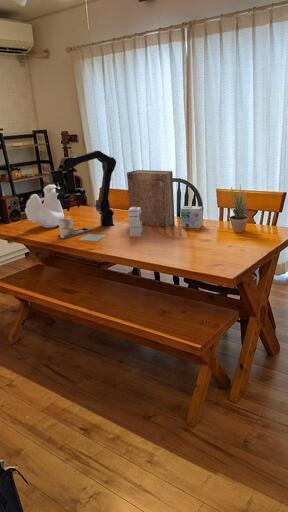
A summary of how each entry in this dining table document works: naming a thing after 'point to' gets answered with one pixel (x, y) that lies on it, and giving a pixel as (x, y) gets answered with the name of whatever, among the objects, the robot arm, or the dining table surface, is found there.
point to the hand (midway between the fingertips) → (73, 209)
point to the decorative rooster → (45, 208)
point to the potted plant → (239, 213)
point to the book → (152, 196)
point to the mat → (92, 237)
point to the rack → (77, 233)
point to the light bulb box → (191, 216)
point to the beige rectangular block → (66, 227)
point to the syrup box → (135, 221)
